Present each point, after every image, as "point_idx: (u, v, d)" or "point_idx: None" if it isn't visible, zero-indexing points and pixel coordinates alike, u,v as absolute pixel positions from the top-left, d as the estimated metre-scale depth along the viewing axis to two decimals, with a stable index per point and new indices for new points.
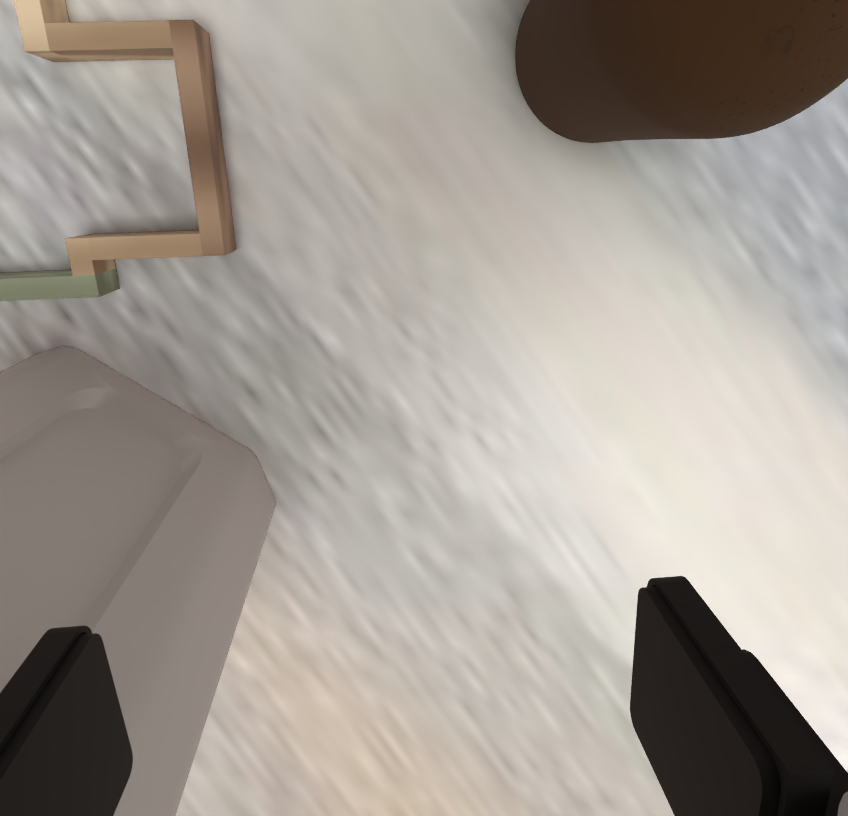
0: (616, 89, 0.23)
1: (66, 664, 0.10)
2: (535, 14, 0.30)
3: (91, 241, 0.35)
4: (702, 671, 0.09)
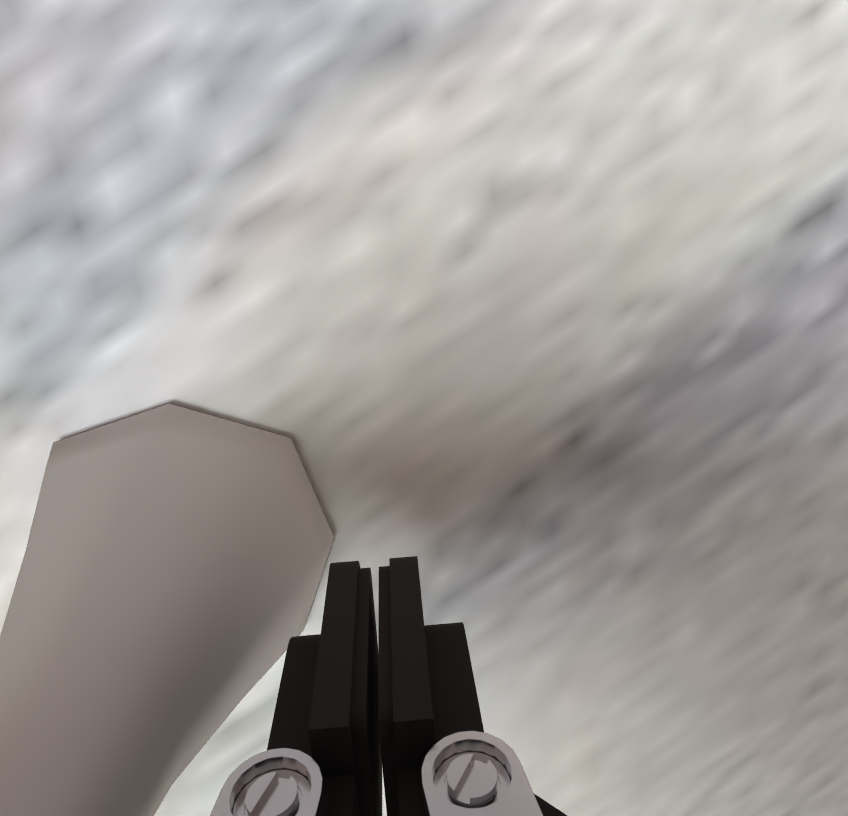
0: None
1: (363, 590, 0.11)
2: None
3: None
4: (383, 638, 0.10)
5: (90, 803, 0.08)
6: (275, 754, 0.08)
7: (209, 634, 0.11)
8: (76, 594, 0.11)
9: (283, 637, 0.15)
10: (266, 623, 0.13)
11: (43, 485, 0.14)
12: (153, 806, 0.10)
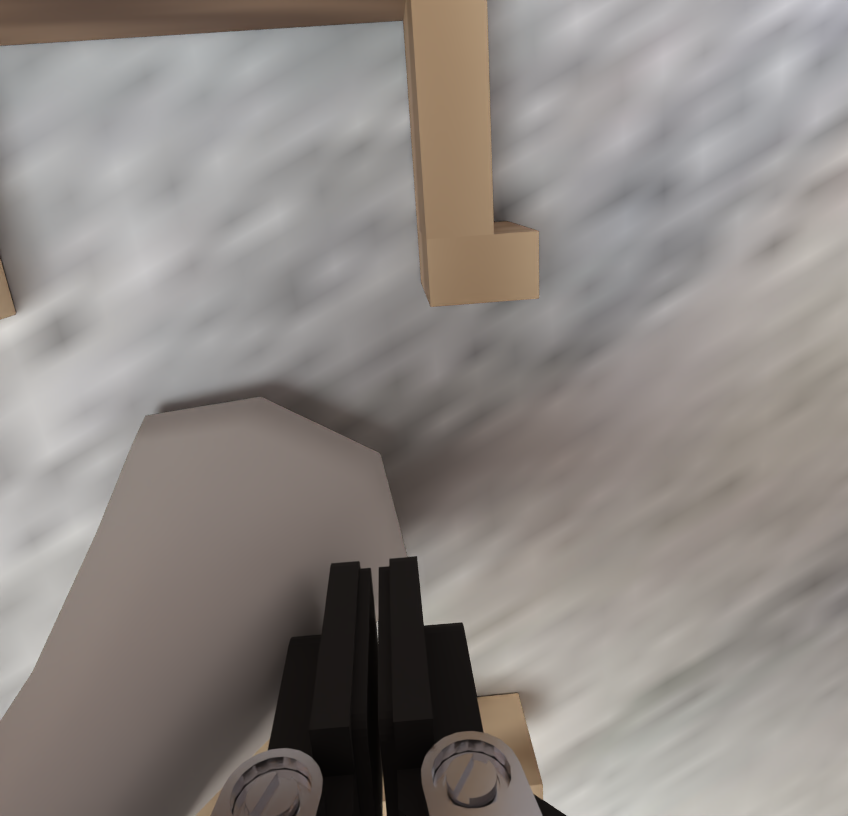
0: None
1: (363, 590, 0.11)
2: None
3: None
4: (383, 638, 0.10)
5: None
6: (275, 754, 0.08)
7: (257, 667, 0.11)
8: (130, 601, 0.10)
9: None
10: None
11: (126, 463, 0.13)
12: None
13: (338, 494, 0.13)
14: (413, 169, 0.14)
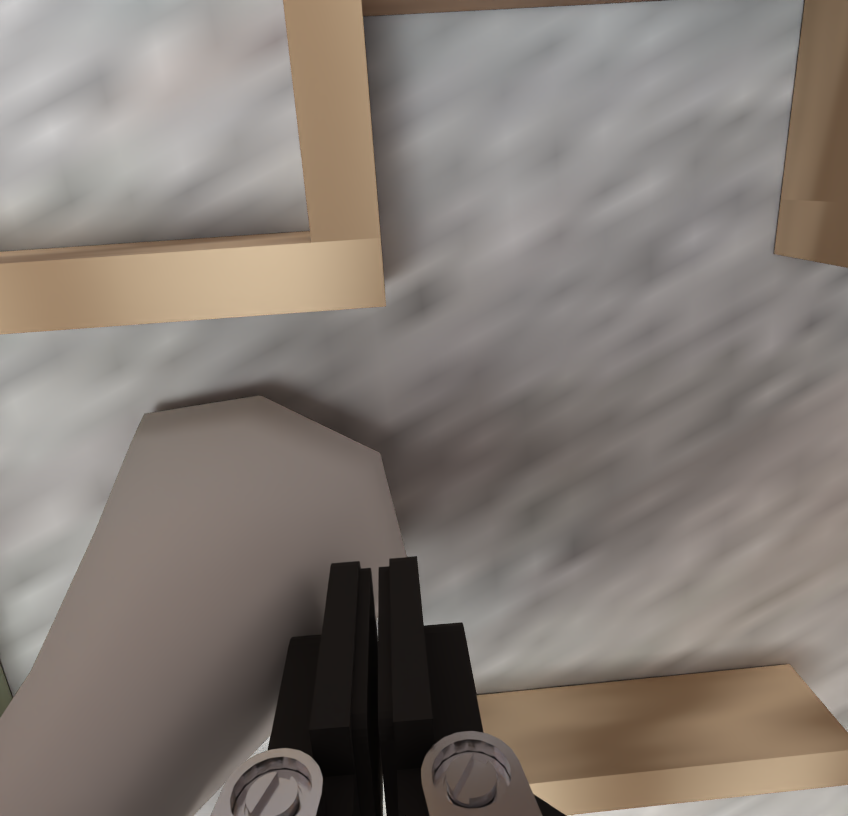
0: None
1: (363, 590, 0.11)
2: None
3: None
4: (383, 638, 0.10)
5: None
6: (275, 754, 0.08)
7: (255, 668, 0.11)
8: (128, 600, 0.10)
9: None
10: None
11: (125, 461, 0.13)
12: None
13: (338, 494, 0.13)
14: (788, 141, 0.14)
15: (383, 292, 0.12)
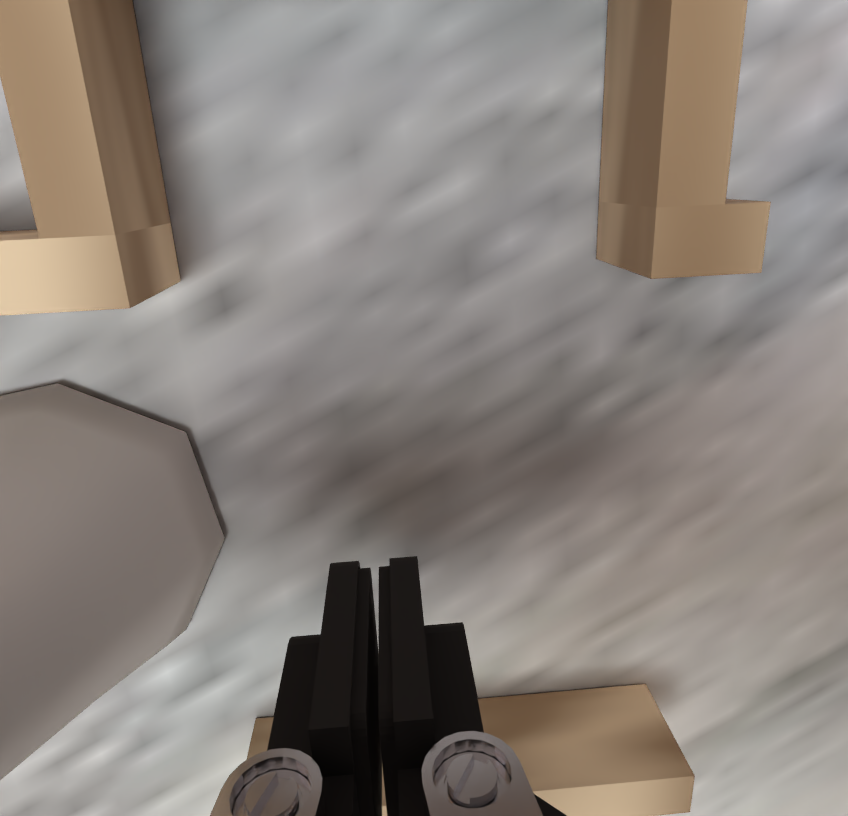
0: None
1: (362, 590, 0.11)
2: None
3: None
4: (383, 638, 0.10)
5: None
6: (275, 754, 0.08)
7: (52, 633, 0.11)
8: None
9: (154, 637, 0.14)
10: (127, 624, 0.12)
11: None
12: None
13: (140, 469, 0.13)
14: (602, 140, 0.13)
15: (125, 293, 0.11)
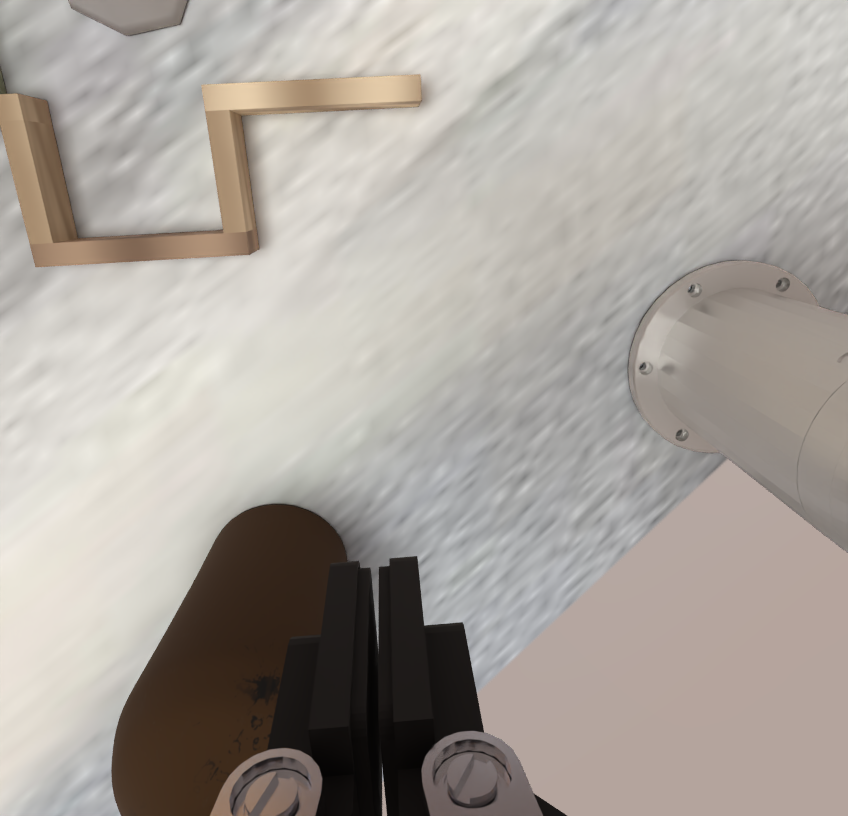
0: (142, 678, 0.29)
1: (362, 590, 0.11)
2: (270, 544, 0.38)
3: (20, 124, 0.32)
4: (383, 638, 0.10)
5: None
6: (275, 754, 0.08)
7: None
8: None
9: None
10: None
11: None
12: None
13: None
14: None
15: None
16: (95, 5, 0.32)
